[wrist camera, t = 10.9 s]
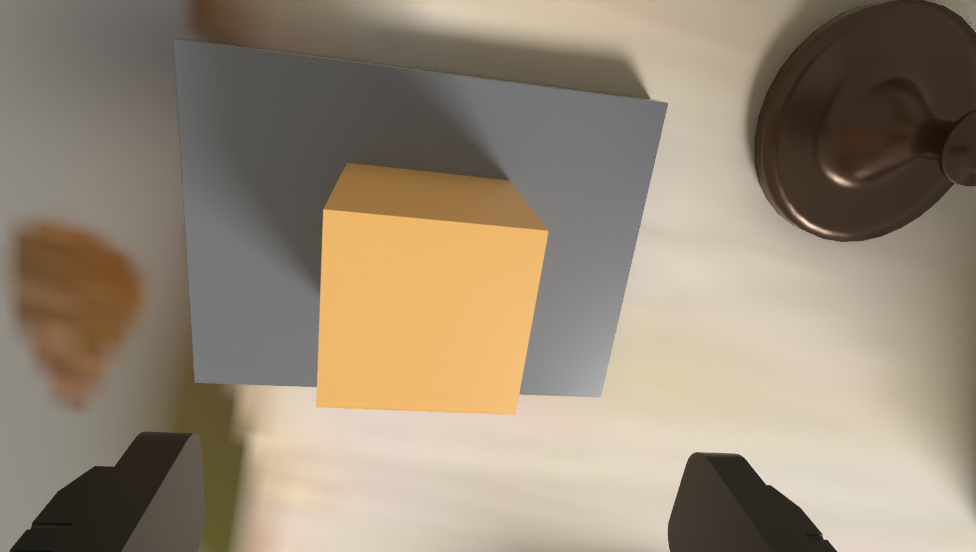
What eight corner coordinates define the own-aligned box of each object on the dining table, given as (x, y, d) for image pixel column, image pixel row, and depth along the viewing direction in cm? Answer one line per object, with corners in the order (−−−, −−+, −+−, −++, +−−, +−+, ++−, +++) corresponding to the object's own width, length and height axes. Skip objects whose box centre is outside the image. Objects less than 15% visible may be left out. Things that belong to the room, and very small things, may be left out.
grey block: (651, 99, 21) (736, 117, 16) (590, 378, 26) (640, 469, 20) (190, 39, 19) (99, 36, 13) (207, 362, 23) (144, 462, 17)
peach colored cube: (509, 180, 20) (548, 230, 15) (488, 323, 22) (515, 414, 17) (347, 162, 19) (323, 209, 14) (339, 313, 21) (316, 407, 16)
